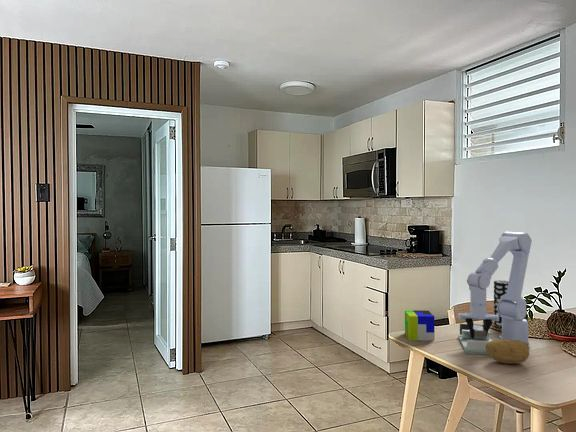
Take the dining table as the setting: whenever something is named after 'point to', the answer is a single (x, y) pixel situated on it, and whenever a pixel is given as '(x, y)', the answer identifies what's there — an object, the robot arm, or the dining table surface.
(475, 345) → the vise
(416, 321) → the puzzle toy
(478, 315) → the robot arm
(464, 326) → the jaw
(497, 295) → the white-spotted black cylinder
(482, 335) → the steel block
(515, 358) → the potato
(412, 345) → the dining table surface
